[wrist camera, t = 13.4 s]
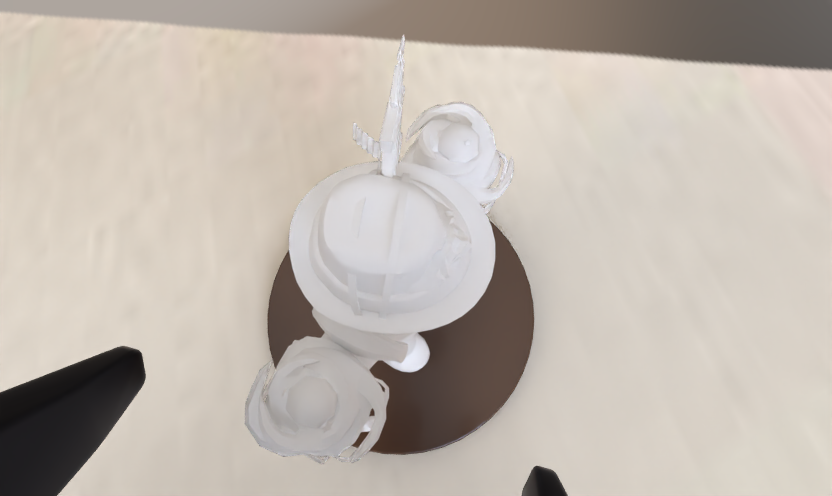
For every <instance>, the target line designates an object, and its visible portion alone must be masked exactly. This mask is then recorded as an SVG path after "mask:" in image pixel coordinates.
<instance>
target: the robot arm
mask: <svg viewBox="0 0 832 496" xmlns="http://www.w3.org/2000/svg"><path fill="white" fill-rule="evenodd" d="M145 378H146V374H145V368H144V363H143V357H142V353H141V352H140V351H139V350H137V349H133V348H130V347H126V346H120V347H117V348H114V349H112V350H109V351H106V352H104V353H101V354H99V355H96V356H93V357H91V358H88V359H86V360H83V361H81V362H78V363H75V364H73V365H70V366H68V367H65V368H62V369H60V370H57V371H55V372H52V373H49V374H47V375H44V376H42V377H39V378H37V379H34V380H31V381H29V382H26V383H24V384H21V385H18V386H16V387H13V388H11V389H8V390H5V391H3V392H0V496H57V495H58V494H59V493H60V492H61V491H62V489H63V488H64V487H65V486H66V485H67V484H68V482H69V481H70V480H71V479H72V478H73V477H74V475H75V474H76V473H77V472H78V471H79V470H80V468H81V467H82V466H83V465H84V464H85V463H86V462H87V460H88V459H89V458H90V457H91V456H92V454H93V453H94V452H95V451H96V450H97V448H98V447H99V446H100V444H101V443H102V442H103V441H104V439H105V438H106V437H107V435H108V434H109V432H110V431H111V430H112V428H113V427H114V425H115V424H116V423H117V421H118V420H119V418H120V417H121V416H122V414H123V413H124V411H125V410H126V409H127V407H128V406H129V404H130V403H131V402H132V400H133V399H134V397H135V396H136V395H137V393H138V392H139V391H140V389H141V388H142V386H143V384H144V382H145ZM522 496H568V495H567V493H566V491H565V489H564V487H563V485H562V483H561V481H560V480H559V478H558V476H557V474H556V473H555V472H554V471H553V470H551V469H547V468H544V467H540V466H535V467H534V468H533V469H532V471H531V473H530V475H529V478H528V480H527V482H526V484H525V486H524V488H523V491H522Z"/></svg>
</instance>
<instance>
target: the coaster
mask: <svg viewBox="0 0 832 496" xmlns="http://www.w3.org/2000/svg"><path fill="white" fill-rule="evenodd" d="M489 221H490V220H489ZM490 224H491V226H492V231H493V235H494V239H495V263H494V269H493V274H492V278H491V280H490V282H489V284H488V286H487V289H486V291H485V293H484V294H483V295H482V297H481V298H480V299H479V301H478V302H477V303H476V304H475V306H474V307H473V308H471V309H470V310H469V311H468V312H467V313H465V314H464V315H463V316H462V317H460V318H458V319H456V320H454V321H453V322H451V323H449V324H447V325H444V326H441V327H438V328H435V329H432V330H427V331H422V332H417V333H418V334H419V335H420V336H421V337H423V338H424V339H425V341H426V343H427V345H428V347H429V351H430V356H429V359H428V361H427V363H426V365H425V366H424V367H423V368H421V369H419V370H418V371H415V372H402V371H399V370H397V369H394V368H393V367H391V366H390V365H388V364H387V363H385V362H384V361H383V360H378V361H377V362H376V363H375V364H374V365H373V366H372V367H371V368H370V369H369V371H370V372H371V373H372V375H373V376H374V378H377V379H380V380H382V381H383V382H384V383H385V384H386V385H387V386H388V387H389V399H388V402H387V406H386V421H385V423H384V426H383V429H382V431H381V434H380V437H379V439H378V441H377V442H376V443H375V444H374V445H373V447H372V448H371V449H370V450H369V451H371V452H377V453H382V454H401V455H406V454H414V453H423V452H427V451H431V450H435V449H439V448H442V447H445V446H447V445H449V444H452V443H454V442H457V441H459V440H461V439H462V438H464V437H466V436H467V435H469V434H471V433H472V432H474V431H476V430H477V429H478V428H480V427H481V426H482V425H483V424H485V423H486V422H487V421H488V420H489V419H491V418H492V417H493V416H494V414H495V413H496V412H497V411H498V410H499V409H500V408H501V407H502V406H503V405H504V403H505V402H506V401H507V399H508V398H509V396H510V395H511V394H512V392H513V391H514V389H515V387H516V385H517V384H518V382H519V380H520V378H521V376H522V374H523V371H524V369H525V366H526V363H527V360H528V357H529V354H530V349H531V344H532V340H533V329H534V309H533V300H532V294H531V289H530V285H529V282H528V279H527V276H526V273H525V270H524V267H523V265H522V263H521V261H520V259H519V257H518V255H517V253H516V252H515V250H514V249H513V247H512V246H511V244H510V242H509V241H508V240H507V238H506V237H505V236H504V235H503V234H502V233H501V231H500V230H499V229H498V228H497V227H496V226H495V225H494V224H493V223H492V222H491V221H490ZM313 308H314V307H313V306H312V305H311V304H310V302H309V301H308V300H307V298H306V297H305V296H304V294H303V292H302V290H301V289H300V287H299V285H298V283H297V281H296V278H295V275H294V271H293V268H292V263H291V258H290V254H289V251H288V252H287V254H286V256H285V258H284V260H283V261H282V263H281V265H280V268H279V270H278V273H277V275H276V278H275V280H274V283H273V287H272V291H271V295H270V300H269V308H268V338H269V345H270V351H271V355H272V358H273V362H274V366H275V368H277V365H278V363H279V362H280V360H281V358H282V356H283V355H284V353H285V351H286V350H287V348H288V346H290V345H292V343H293V341H294V340H301V339H303V338H304V337H306V336H310V337H317V338H321V337H322V336H323V334H324V333H325V332H324V331H323V329H322V328H321V327H320V325H319V324H318V322H317V321H316V319H315V318H314V317H313V314H312V310H313ZM378 383H379V382H378ZM379 385H380V386H381V388H382V391H383V392H384V393H385V388H384V387H383V386H382V385H381V384H380V383H379ZM369 416H375V412H374V409H373V408H372V409H371V412H370V415H369ZM369 432H370V431H368V432H361V433H360V435H359V437H358V438H357V440H356V442H355V443H354V444H353V445H351V446H354V447H357V448H358V447H359V446H360V445H361V443H362V442H363V441H364V439H365V438H366V437H367V435H368V434H369Z"/></svg>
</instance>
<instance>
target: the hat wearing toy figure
mask: <svg viewBox="0 0 832 496" xmlns="http://www.w3.org/2000/svg"><path fill="white" fill-rule="evenodd" d="M404 46H405V37H404V35H403V37H402V39H401V43H400V47H399V50H398V54H397V60H398V64H397V66H395V70H394V75H393V81H392V87H391V93H390V99H389V102H388V103H387V108H386V112H385V116H384V121H383V125H382V130H381V134H380V138H379V142H377V141H374V139H373V138H371V137H369V136H368V134H367V133H363V131H362V129H360V128H358V126H357V124H355V123H353V140H356V142H357V144H358V145H361V147H362V149H365V150H366V151H367V153H370V154H372V156H373V157H376V158H378V161H375V162H368V163H362V164H358V165H354V166H350V167H346V168H344V169H342V170H340V171H338V172H336V173H334V174H332V175H330V176H329V177H327V178H325V179H324V180H322V181H320V182H319V183H318V184H317V185H316V186H315V187H314V188H313V189H312V190H310V192H309V193H308V194H307V195H306V196H305V197H304V198H303V199H302V200H301V202H300V204H299V205H298V207H297V208H296V210H295V213H294V216H293V219H292V222H291V226H290V232H289V254H290V258H291V263H292V268H293V271H294V275H295V278H296V281H297V283H298V285H299V287H300V289H301V290H302V292H303V294H304V296H305V297H306V298H307V300H308V301H309V302H310V304H311V305H312V306H313V307H314V308H313V310H312V314H313V317H314V318H315V319H316V321H317V322H318V324H319V325H320V327H321V328H322V329H323V331H324V332H325V333H324V334H323V336H322V337H321V338H317V337H310V336H306V337H304V338H303V339H301V340H294V341H293V343H292V345H290V346H288V348H287V350H286V351H285V353H284V355H283V356H282V358H281V360H280V362H279V363H278V365H277V368H276V371H275V372H274V374H273V376H272V378H271V379H270V381H269V383H268V384H267V386H266V388H265V389H264V386H265V382H266V379H267V376H268V372H269V369H270V367H271V364H272V361H273V360H271V361H270V362H269V363H268V364H266V365H265V366H264V367H263V368H261V369H260V370H259V373H258V375H257V377H256V379H255V381H254V383H253V385H252V387H251V390H250V392H249V395H248V398H247V401H246V408H245V425H246V426H247V428H248V429H249V431H250V432H251V434H252V435H253V437H254V438H255V440H256V441H257V443H258V444H259V446H261V447H263V448H265V449H267V450H270V451H272V452H274V453H276V454H279V455H281V456H283V457H286V456H294V455H305V456H307V457H309V458H311V459H312V460H314V461H316V462H318V463H320V464H324V463H325V462H326V461H327V460H328V459H329V456H332V457H334V458H336V459H338V460H339V461H341V462H350V461H351V460H352V459H353V460H352V462H351V463H353V462H356V461H358V460H359V459H360V458H362V457H363V456H364V455H365V454H366V453H367V452H369V450H370V449H371V448H372V447H373V445H374V444H375V443H376V442H377V441H378V439H379V437H380V434H381V431H382V429H383V426H384V423H385V421H386V406H387V402H388V399H389V387H388V386H387V385H386V384H385V383H384V382H383V381H382V380H380V379H377V378H374V376H373V375H372V373H371V372H370V371H369V369H370V368H371V367H372V366H373V365H374V364H375V363H376V362H377V361H378V360H383V361H384V362H385V363H387V364H388V365H390V366H391V367H393V368H394V369H397V370H399V371H402V372H415V371H418V370H419V369H421V368H423V367H424V366H425V365H426V363H427V361H428V359H429V356H430V351H429V347H428V345H427V343H426V341H425V339H424V338H423V337H421V336H420V335H419V334H418V333H417V332H422V331H427V330H432V329H435V328H438V327H441V326H444V325H447V324H449V323H451V322H453V321H454V320H456V319H458V318H460V317H462V316H463V315H464V314H465V313H467V312H468V311H469V310H470V309H471V308H473V307H474V306H475V304H476V303H477V302H478V301H479V299H480V298H481V297H482V295H483V294H484V293H485V291H486V289H487V286H488V284H489V282H490V280H491V278H492V274H493V269H494V263H495V239H494V235H493V231H492V226H491V224H490V221H489V218H488V217H487V215H486V213H487V212H488V211H489V210H490V209H491V207H492V206H493V204H494V203H495V200H496V199H497V198H498V197H500V196H501V195H502V194H503V193H504V191H505V190H506V188H507V187H508V186H509V184H510V183H511V180H512V176H513V172H514V161H513V158H512V157H511V159H510V161H509V164H508V167H507V163H508V161H507V159H506V156H505V155H504V154H503V153H501V152H499V151H497V149H496V144H495V141H494V135H493V130H492V129H491V127H490V125H488V123H487V121H486V120H485V118H484V117H483V115H482V113H480V112H479V111H478V110H477V109H476V108H475V107H474V106H472V105H470V104H467V103H464V102H451V103H449V104H446V105H436V106H434V107H432V108H430V109H427V110H425V111H424V112H423V113H422V114H421V115H420V116H419V117H418V118H417V119H416V120H415V121H414V122H413V124H412V125H411V126H410V127H409V129H408V131H407V136H406V142H407V141H408V140H409V139H410V138H411V137H412V136H413V135H414V134H415V133H416V132H417V131H418V130H420V129H421V128H422V127H423V128H422V130H421V131H420V133H419V135H418V136H417V138H416V140H415V141H414V143H413V144H412V145H411V146H410V147H409V149H408V150H407V152H406V154H405V155H404V157H403V158H402V160H401V162H398V159H399V154H400V149H401V144H402V133H401V132H400V129H401V119H402V105H403V99H404V93H405V86H403V73H404V71H403V70H404V58H403V55H404ZM381 149H382V161H380V158H381ZM500 157H501V159H502V160H503V162H504V166H503V170H502V174H501V178H500V181H499V184H498V186H497V187H496V188H493V189H489V188H490V186H491V185H492V183H493V181H494V179H495V177H496V176H497V174H498V172H499V169H500V167H501V164H500ZM506 167H507V170H506ZM505 172H506V173H505ZM487 203H489V204H488V205H487V206H486V207H485V208H484V209H483V208H482V206H481V205H483V204H487ZM378 382H379V383H380V384H381V385H382V386H383V387H384V388H385V393H384V392H383V391H382V388H381V386H380V385H379V383H378ZM263 390H264V391H263ZM266 396H267V398H266ZM265 398H266V401H265V403H264V399H265ZM372 408H373V409H374V412H375V416H369V415H370V412H371V409H372ZM368 431H370V432H369V434H368V435H367V437H366V438H365V439H364V441H363V442H362V443H361V445H360V446H359V447H358V449H357V450H356V451H355V452H354V453H353V454H352V455H351V456H350V457H349V458H345V457H340V456H338V455H339V454H340V453H342V452H343V451H344V450H346V449H347V448H349V447H350V446H351V445H353V444H354V443H355V442H356V440H357V438H358V437H359V435H360V433H361V432H368ZM320 456H326V457H325V458H324V459H322V458H321V457H320Z"/></svg>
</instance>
